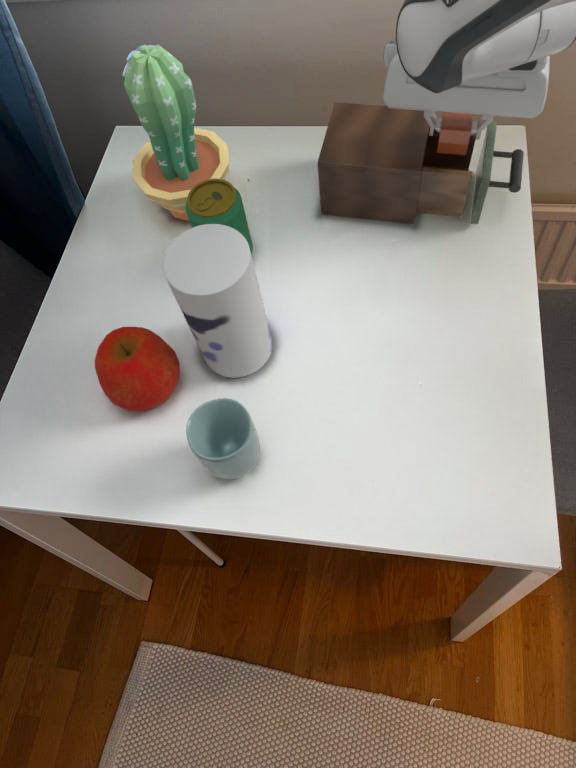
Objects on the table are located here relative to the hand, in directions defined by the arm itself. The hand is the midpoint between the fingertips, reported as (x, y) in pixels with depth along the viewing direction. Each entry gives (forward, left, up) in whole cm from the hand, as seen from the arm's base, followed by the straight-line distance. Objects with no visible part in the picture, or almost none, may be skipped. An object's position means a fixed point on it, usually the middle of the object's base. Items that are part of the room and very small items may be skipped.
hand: (454, 134), depth 80 cm
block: (0, 0, -2) cm, 2 cm away
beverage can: (+31, +16, -12) cm, 37 cm away
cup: (+21, +48, -12) cm, 54 cm away
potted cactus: (+40, +6, -12) cm, 42 cm away
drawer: (-1, 0, -11) cm, 11 cm away
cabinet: (+11, 0, -12) cm, 16 cm away
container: (+25, +32, -12) cm, 42 cm away
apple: (+36, +40, -12) cm, 55 cm away
